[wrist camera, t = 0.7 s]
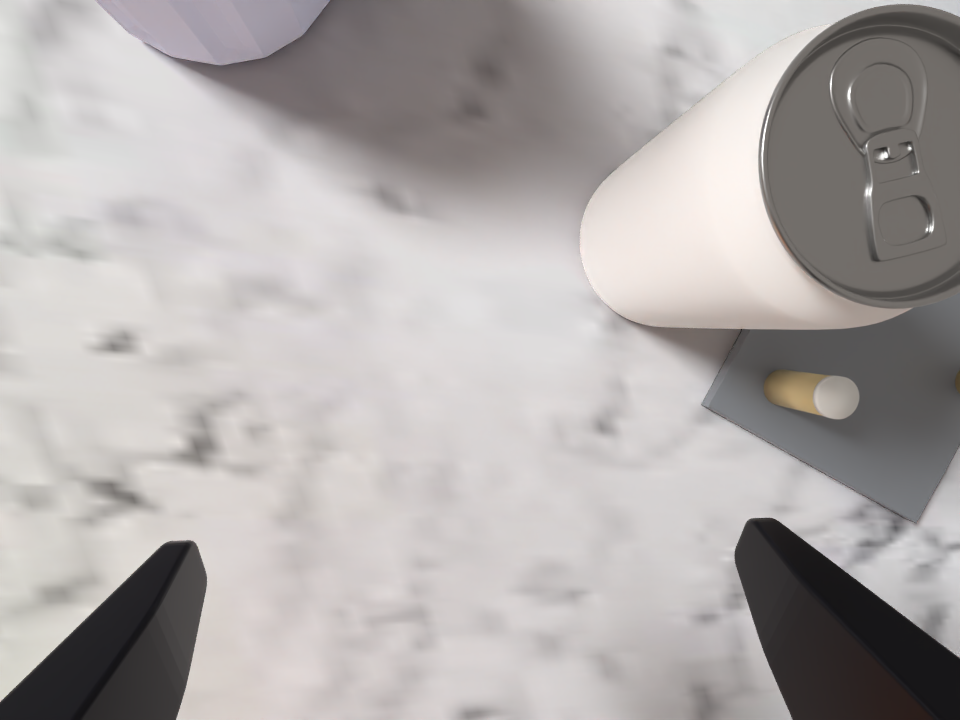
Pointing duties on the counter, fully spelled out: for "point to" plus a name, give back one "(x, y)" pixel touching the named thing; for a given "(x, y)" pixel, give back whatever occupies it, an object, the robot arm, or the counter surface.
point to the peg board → (855, 400)
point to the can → (796, 187)
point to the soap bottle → (215, 26)
